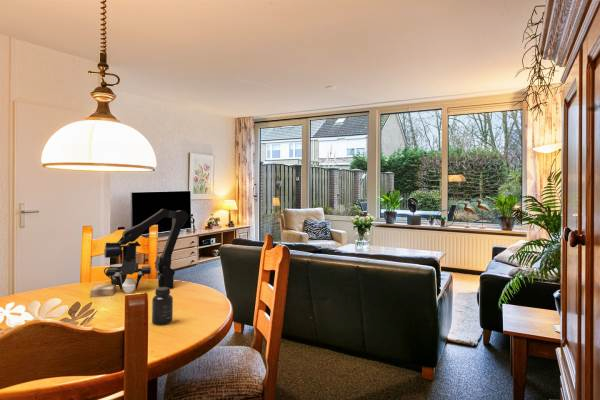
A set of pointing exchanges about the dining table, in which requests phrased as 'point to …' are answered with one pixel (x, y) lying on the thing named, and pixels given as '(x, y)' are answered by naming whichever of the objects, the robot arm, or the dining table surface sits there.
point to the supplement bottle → (162, 306)
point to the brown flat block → (103, 290)
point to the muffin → (128, 285)
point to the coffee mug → (113, 280)
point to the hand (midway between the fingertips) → (128, 289)
